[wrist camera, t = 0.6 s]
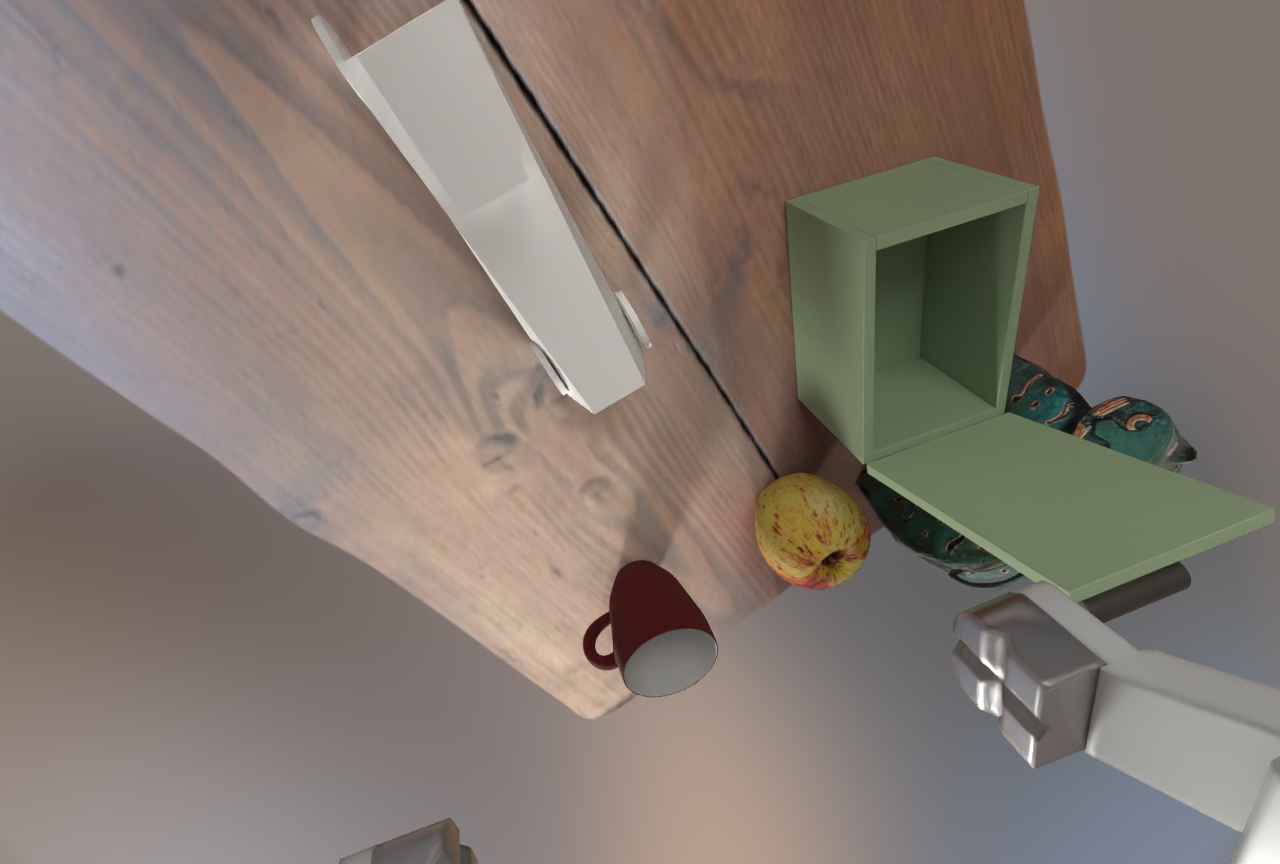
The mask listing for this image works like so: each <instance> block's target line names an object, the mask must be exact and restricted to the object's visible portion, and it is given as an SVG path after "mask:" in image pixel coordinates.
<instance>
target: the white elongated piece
mask: <svg viewBox="0 0 1280 864" xmlns="http://www.w3.org/2000/svg"><path fill="white" fill-rule="evenodd" d="M311 22H312V24H313V27H314V29H315V31H316V32H317V34H318V36H319V38H320V40H321V41H322V43H323V45H324V46H325V48H326V50H327V51H328V53H329V54H330V56H331V57H332V59H333V60H334V62H335V63H336V65H337V67H338V68H339V69H340V71H341V72H342V74H343V75H344V77H345V78H346V79H347V81H348V82H349V84H350V85H351V86H352V88H353V89H354V90H355V92H356V93H357V94H358V95H359V97H360V98H361V99H362V100H363V101H364V103H365V104H366V105H367V106H368V108H369V109H370V110H371V112H372V113H373V115H374V116H375V117H376V119H377V120H378V121H379V123H380V124H381V125H382V127H383V128H384V129H385V131H386V132H387V134H388V135H389V136H390V138H391V139H392V140H393V142H394V143H395V144H396V146H397V147H398V148H399V150H400V151H401V153H402V154H403V155H404V157H405V158H406V159H407V161H408V162H409V163H410V165H411V166H412V167H413V169H414V170H415V172H416V173H417V174H418V176H419V177H420V178H421V180H422V181H423V182H424V184H425V185H426V186H427V188H428V189H429V191H430V192H431V193H432V195H433V196H434V197H435V199H436V200H437V201H438V203H439V204H440V205H441V207H442V208H443V210H444V211H445V212H446V214H447V215H448V216H449V218H450V219H451V221H452V222H453V224H454V225H455V227H456V228H457V230H458V231H459V233H460V234H461V236H462V237H463V239H464V240H465V242H466V243H467V245H468V246H469V247H470V249H471V250H472V252H473V253H474V255H475V256H476V258H477V259H478V261H479V262H480V264H481V265H482V267H483V268H484V270H485V271H486V273H487V274H488V276H489V277H490V279H491V280H492V282H493V283H494V285H495V286H496V288H497V289H498V291H499V292H500V294H501V295H502V297H503V298H504V300H505V301H506V303H507V304H508V306H509V307H510V309H511V310H512V312H513V313H514V315H515V316H516V318H517V319H518V321H519V322H520V324H521V325H522V327H523V328H524V330H525V331H526V333H527V334H528V336H529V337H530V339H531V341H530V345H531V347H532V348H533V350H534V352H535V354H536V355H537V357H538V359H539V360H540V362H541V364H542V365H543V367H544V368H545V370H546V371H547V373H548V375H549V376H550V378H551V379H552V381H553V382H554V384H555V385H556V386H557V388H558V389H559V391H560V392H561V393H562V394H563V396H564V395H565V394H568V395H569V396H570V397H571V398H573V399H574V400H576V401H577V402H578V403H580V404H581V405H582V406H584V407H585V408H586V409H588V410H589V411H591V412H592V413H593V414H596V413H598V412H599V411H601V410H603V409H604V408H606V407H608V406H610V405H611V404H613V403H615V402H616V401H618V400H620V399H621V398H623V397H625V396H627V395H628V394H630V393H632V392H633V391H635V390H637V389H638V388H640V387H642V386H644V385H645V384H646V383H645V369H644V355H643V350H642V348H641V346H640V344H639V342H638V340H637V338H636V336H635V334H634V333H633V331H632V329H631V327H630V325H629V323H628V321H627V319H626V317H625V316H624V314H623V312H622V310H621V308H620V306H619V304H618V302H617V300H616V299H615V297H614V295H613V293H612V291H611V289H610V287H609V285H608V283H607V282H606V280H605V278H604V276H603V274H602V272H601V270H600V268H599V266H598V265H597V263H596V261H595V259H594V257H593V255H592V253H591V251H590V249H589V248H588V246H587V244H586V242H585V240H584V238H583V236H582V234H581V233H580V231H579V229H578V227H577V225H576V223H575V221H574V219H573V217H572V216H571V214H570V212H569V210H568V208H567V206H566V204H565V202H564V200H563V199H562V197H561V195H560V193H559V191H558V189H557V187H556V185H555V183H554V182H553V180H552V178H551V176H550V174H549V172H548V170H547V168H546V166H545V165H544V163H543V161H542V159H541V157H540V155H539V153H538V151H537V149H536V148H535V146H534V144H533V142H532V140H531V138H530V136H529V134H528V132H527V131H526V129H525V127H524V125H523V123H522V121H521V119H520V117H519V115H518V114H517V112H516V110H515V108H514V106H513V104H512V102H511V100H510V98H509V97H508V95H507V93H506V91H505V89H504V87H503V85H502V83H501V81H500V80H499V78H498V76H497V74H496V72H495V70H494V68H493V66H492V64H491V63H490V61H489V59H488V57H487V55H486V53H485V51H484V49H483V47H482V46H481V44H480V42H479V39H478V37H477V35H476V33H475V31H474V29H473V27H472V25H471V23H470V21H469V19H468V17H467V15H466V13H465V11H464V9H463V7H462V5H461V4H460V2H459V0H445V1H443V2H442V3H440V4H438V5H437V6H435V7H433V8H432V9H430V10H428V11H427V12H425V13H424V14H422V15H420V16H419V17H417V18H415V19H414V20H412V21H410V22H409V23H407V24H405V25H404V26H402V27H400V28H399V29H397V30H396V31H394V32H392V33H391V34H389V35H387V36H386V37H384V38H382V39H381V40H379V41H377V42H376V43H374V44H372V45H371V46H369V47H367V48H366V49H364V50H363V51H361V52H359V53H358V54H356V55H354V56H353V57H352V56H351V55H350V53H349V52H348V50H347V49H346V47H345V46H344V44H343V43H342V41H341V40H340V39H339V37H338V36H337V34H336V33H335V32H334V30H333V29H332V28H331V26H330V25H329V24H328V23H327V21H326V20H325V19H324V18H323V17H322V16H321V15H317V16H315V17H314V18H312V19H311ZM615 295H616V297H617V299H618V301H619V303H620V305H621V306H622V308H623V310H624V312H625V314H626V316H627V317H628V319H629V321H630V323H631V325H632V326H633V328H634V330H635V331H636V333H637V335H638V337H639V338H640V340H641V342H642V343H643V345H644V346H645V348H646V349H648V348H650V347H651V346H652V344H651V342H650V340H649V338H648V336H647V334H646V332H645V330H644V328H643V326H642V324H641V323H640V321H639V319H638V317H637V315H636V314H635V312H634V310H633V308H632V307H631V305H630V303H629V302H628V300H627V298H626V297H625V295H624V294H623V292H622V291H621V290H620V291H618V292H617V293H615Z"/></svg>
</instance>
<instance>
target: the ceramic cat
mask: <svg viewBox="0 0 1280 864" xmlns="http://www.w3.org/2000/svg"><path fill="white" fill-rule="evenodd" d="M1008 412H1010V413H1012V414H1015V415H1018V416H1021V417H1023V418H1026V419H1029V420H1032V421H1034V422H1037V423H1040V424H1043V425H1045V426H1048V427H1051V428H1054V429H1056V430H1059V431H1062V432H1065V433H1068V434H1070V435H1073V436H1076V437H1079V438H1081V439H1084V440H1087V441H1090V442H1092V443H1095V444H1098V445H1101V446H1103V447H1106V448H1109V449H1112V450H1114V451H1117V452H1120V453H1123V454H1125V455H1128V456H1131V457H1134V458H1136V459H1139V460H1142V461H1145V462H1147V463H1150V464H1153V465H1156V466H1159V467H1161V468H1164V469H1167V470H1170V471H1172V472H1175V473H1178V474H1179V472H1180V469H1181V467H1182V464H1183V463H1190V462H1192V461H1195V460H1196V454H1197V451H1196V450H1195V449H1194V448H1193V447H1192V446H1191V445H1190V444H1189V443H1188V442H1187V440H1185V439H1184V438H1182V437H1181V436H1180V434H1179V432H1178V430H1177V428H1176V426H1175V425H1174V423H1173V421H1172V420H1171V417H1170V416H1169V415H1168V414H1167V413H1166V412H1165V411H1164V410H1163V409H1161V408H1160V407H1158V406H1156V405H1154V404H1152V403H1150V402H1147V401H1145V400H1140V399H1134V398H1131V397H1127V396H1121V397H1117V398H1113V399H1110V400H1107V401H1105V402H1103V403H1101V404H1099V405H1097V406H1095V407H1093V408H1091V407H1090V406H1089V404H1088V403H1087V402H1086V401H1085V400H1084V398H1083V397H1082V396H1081V395H1080V394H1079V393H1078V392H1077V391H1076V390H1075V389H1074V388H1073V387H1071V386H1069V385H1067V384H1066V383H1064V382H1062V381H1060V380H1058V379H1056V378H1054V377H1053V376H1051V375H1050V374H1049V373H1048V372H1047V371H1046V370H1045V369H1043V368H1042V367H1041V366H1039V365H1037V364H1034V363H1031V362H1029V361H1027V360H1025V359H1023V358H1021V357H1019V356H1017V355H1015V354H1013V360H1012V367H1011V373H1010V379H1009V386H1008V392H1007V399H1006V405H1005V411H1004V414H1005V413H1008ZM1001 415H1003V414H1001ZM856 486H857V487H858V489H859V490H860V491H861V493H862V494H863V496H864V497H865V499H866V500H867V501H868V503H869V505H870V506H871V508H872V509H873V510H874V512H875V513H876V515H877V517H878V518H879V520H880V521H881V522H882V524H883V525H884V526H885V527H886V528H887V530H888V531H889V532H890V533H891V535H892V536H893V537H894V539H895V540H896V541H897V542H898V543H899V544H900V545H901V546H903V547H904V548H906V549H907V550H909V551H910V552H912V553H914V554H916V555H917V556H919V557H921V558H922V559H923V560H925V561H927V562H928V563H931V564H933V565H935V566H937V567H939V568H941V569H943V570H945V571H947V572H949V576H950V577H951V578H953V579H955V580H957V581H959V582H961V583H963V584H965V585H967V586H971V587H973V588H978V589H985V590H990V589H1000V588H1003V587H1006V586H1009V585H1012V584H1015V583H1017V582H1019V581H1021V580H1023V579H1025V578H1027V577H1026V576H1025V575H1023V574H1022V573H1019V574H1017V575H1015V576H1013V577H1011V578H1009V579H1007V580H1004V581H1000V582H995V583H972V582H968V581H966V580H963V579H961V578H959V577H958V576H962V577H967V578H992V577H998V576H1005V575H1008V574H1012V573H1015V572H1017V570H1016V569H1014V568H1013V567H1011V566H1010V565H1008V564H1006V563H1005V562H1003V561H1002V560H1000V559H999V558H997V557H996V556H994V555H993V554H991V553H990V552H988V551H987V550H985V549H983V548H982V547H980V546H979V545H977V544H976V543H974V542H973V541H971V540H970V539H968V538H967V537H965V536H964V535H962V534H960V533H959V532H957V531H956V530H954V529H953V528H951V527H950V526H948V525H947V524H945V523H944V522H942V521H940V520H939V519H937V518H936V517H934V516H933V515H931V514H930V513H928V512H927V511H925V510H924V509H922V508H921V507H919V506H917V505H916V504H914V503H913V502H911V501H910V500H908V499H907V498H905V497H904V496H902V495H901V494H899V493H897V492H896V491H894V490H893V489H891V488H890V487H888V486H887V485H885V484H884V483H882V482H881V481H879V480H878V479H876V478H874V477H873V476H871V475H870V474H868V471H867V470H866V471H865V472H864V473H863V474H862V475H861V476H860V477H859V479H858V480H857V481H856Z"/></svg>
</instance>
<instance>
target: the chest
mask: <svg viewBox="0 0 1280 864" xmlns="http://www.w3.org/2000/svg"><path fill="white" fill-rule="evenodd" d="M1039 188H1040V187H1039V186H1036V185H1032V184H1029V183H1025V182H1022V181H1018V180H1015V179H1011V178H1008V177H1004V176H1001V175H998V174H994V173H991V172H987V171H984V170H980V169H977V168H973V167H970V166H966V165H963V164H959V163H956V162H952V161H949V160H945V159H942V158H939V157H935V156H933V157H929V158H926V159H923V160H919V161H916V162H913V163H909V164H906V165H903V166H899V167H896V168H893V169H889V170H886V171H883V172H879V173H876V174H873V175H869V176H866V177H863V178H859V179H856V180H853V181H850V182H846V183H843V184H840V185H836V186H833V187H830V188H826V189H823V190H820V191H816V192H813V193H810V194H806V195H803V196H800V197H796V198H793V199H790V200H786V201H785V204H786V220H787V235H788V251H789V266H790V282H791V297H792V312H793V328H794V343H795V359H796V374H797V390H798V399H799V400H800V401H801V402H802V403H803V404H804V405H805V406H806V407H807V408H808V409H809V410H810V411H811V412H812V413H813V414H814V415H815V416H816V417H817V418H818V419H819V420H820V421H821V422H822V423H823V424H824V425H825V427H826V428H827V429H828V430H829V431H830V432H831V433H832V434H833V435H834V436H835V437H836V438H837V439H838V440H839V441H840V442H841V443H842V444H843V445H844V446H845V447H846V448H847V449H848V450H849V451H850V452H851V453H852V454H853V455H854V456H855V457H856V458H857V459H858V460H859V461H860V462H861V463H862V464H866V463H869V462H871V461H873V460H876V459H879V458H882V457H885V456H888V455H890V454H893V453H896V452H899V451H901V450H904V449H907V448H910V447H912V446H915V445H918V444H921V443H923V442H926V441H929V440H932V439H935V438H937V437H940V436H943V435H946V434H948V433H951V432H954V431H957V430H959V429H962V428H965V427H968V426H970V425H973V424H976V423H979V422H982V421H984V420H987V419H990V418H993V417H994V416H998V415H1001V414H1004V411H1005V405H1006V399H1007V392H1008V386H1009V379H1010V373H1011V367H1012V360H1013V354H1014V348H1015V341H1016V335H1017V328H1018V322H1019V316H1020V309H1021V303H1022V297H1023V290H1024V284H1025V277H1026V271H1027V265H1028V258H1029V252H1030V246H1031V239H1032V233H1033V227H1034V220H1035V214H1036V207H1037V201H1038V195H1039Z"/></svg>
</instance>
